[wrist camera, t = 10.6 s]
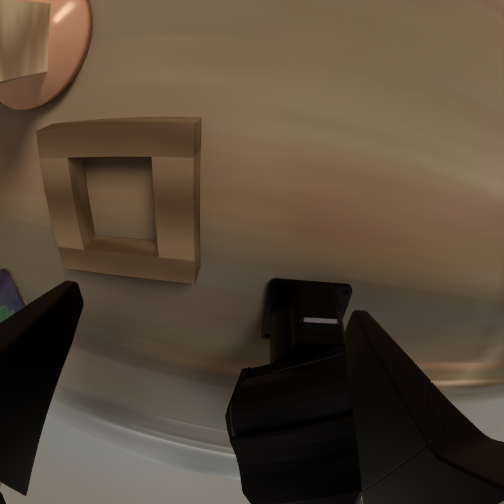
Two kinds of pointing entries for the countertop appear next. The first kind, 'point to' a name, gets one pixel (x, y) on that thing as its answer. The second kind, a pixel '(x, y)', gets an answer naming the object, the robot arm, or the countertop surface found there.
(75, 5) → the terracotta plate
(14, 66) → the maple block
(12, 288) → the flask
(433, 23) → the countertop surface
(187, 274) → the pocket board
